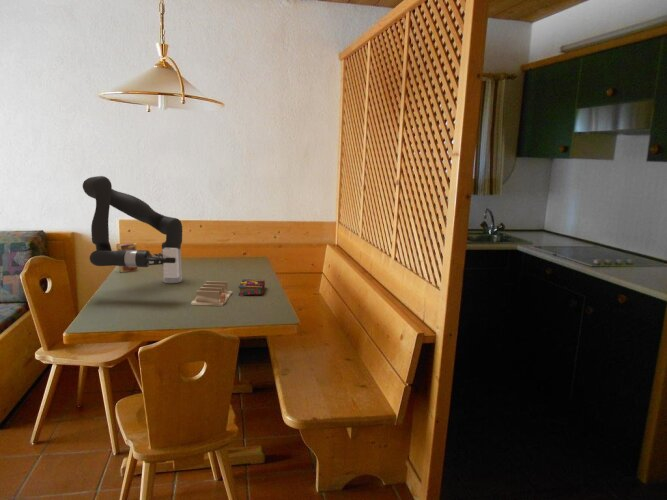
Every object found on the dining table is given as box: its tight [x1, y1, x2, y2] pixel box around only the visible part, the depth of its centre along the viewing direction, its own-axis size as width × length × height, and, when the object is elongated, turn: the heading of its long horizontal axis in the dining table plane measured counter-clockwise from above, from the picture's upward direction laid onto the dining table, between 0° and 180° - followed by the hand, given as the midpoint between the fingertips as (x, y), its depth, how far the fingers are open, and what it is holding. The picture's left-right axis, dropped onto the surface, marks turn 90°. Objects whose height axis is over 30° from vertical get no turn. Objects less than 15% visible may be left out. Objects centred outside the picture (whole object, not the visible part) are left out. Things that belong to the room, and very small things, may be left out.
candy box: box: [117, 242, 138, 273], centre depth 285 cm, size 9×4×15 cm, turn 134°
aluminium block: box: [162, 248, 179, 278], centre depth 230 cm, size 3×6×13 cm, turn 89°
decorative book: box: [238, 278, 266, 297], centre depth 252 cm, size 11×16×5 cm
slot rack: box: [190, 280, 233, 307], centre depth 238 cm, size 20×14×6 cm
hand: (176, 259), depth 230 cm, fingers closed on aluminium block, 3 cm apart
